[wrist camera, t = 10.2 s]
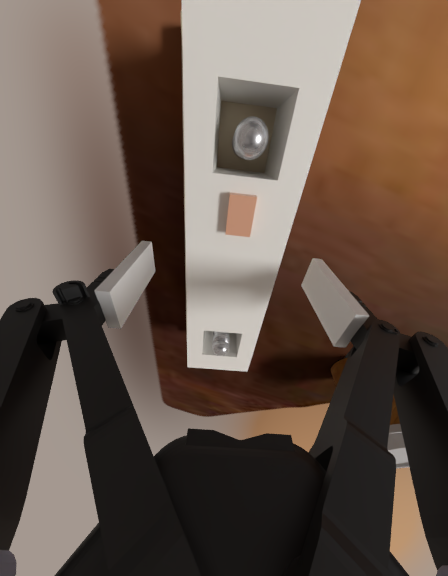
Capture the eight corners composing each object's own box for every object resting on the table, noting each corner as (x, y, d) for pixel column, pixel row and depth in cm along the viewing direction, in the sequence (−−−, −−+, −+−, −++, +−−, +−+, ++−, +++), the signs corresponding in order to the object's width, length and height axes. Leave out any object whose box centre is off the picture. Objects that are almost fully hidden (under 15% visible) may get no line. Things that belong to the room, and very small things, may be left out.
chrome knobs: (233, 127, 14) (236, 110, 9) (257, 130, 14) (275, 116, 9) (214, 312, 25) (210, 358, 19) (228, 313, 25) (228, 360, 20)
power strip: (198, 36, 11) (177, -44, 7) (314, 53, 12) (370, -12, 7) (193, 333, 26) (186, 371, 22) (244, 337, 27) (247, 376, 22)
